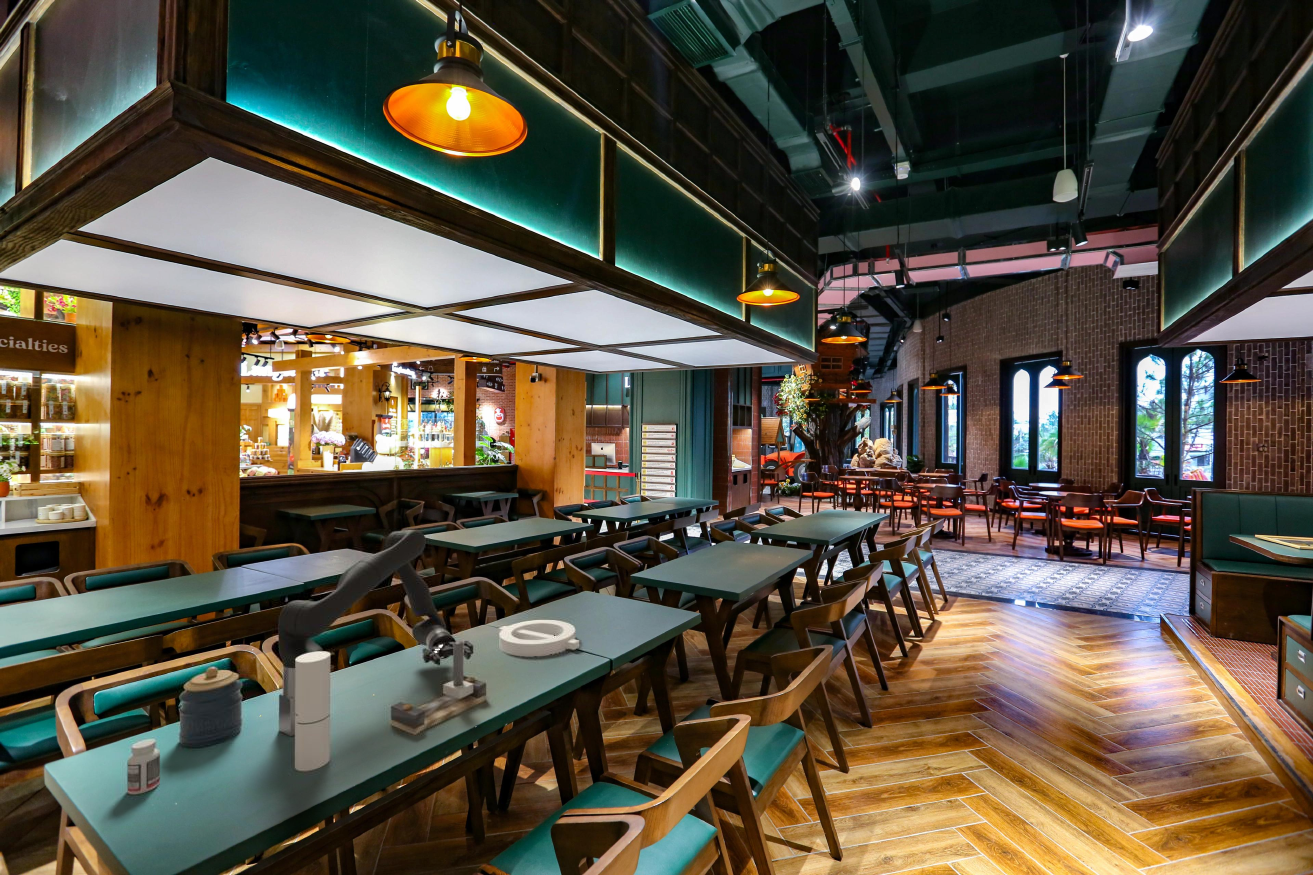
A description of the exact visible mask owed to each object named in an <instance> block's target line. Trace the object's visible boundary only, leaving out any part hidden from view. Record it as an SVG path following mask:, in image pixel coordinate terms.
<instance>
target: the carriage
mask: <svg viewBox="0 0 1313 875" xmlns="http://www.w3.org/2000/svg"><path fill="white" fill-rule="evenodd" d="M463 646H464V641H462V640H460V641H459V640H458V641H457V640H456V642H454V643H453V656H452V657H453V658H452V665H453V666H452V670H453V671H452V672H453V673H452V676H453V678H452V680H451V681H449V682H446V683H444V684H442V694H444V695H449V696H452V697H455V698H458V699H460V698H463V697H465V696H467V695H469V694H471V693H473V684H472V683H469V682H466V681H463V676H464V656H463V653H464V649H463Z"/></svg>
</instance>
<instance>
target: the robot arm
mask: <svg viewBox="0 0 1313 875" xmlns="http://www.w3.org/2000/svg"><path fill="white" fill-rule="evenodd" d="M426 542H427V539H426V536H425V534H424V533H423V532H421V531H420V530H417V529H406V530H397V531H392V532H391V533H389V534H388V536H387V537H386V539H385V550H382V551H379V552H376V553H374V554H371V555H369V556H366V557H364V558H363V559H360V560H358V562H355V563H354V564H353V565H351V566H350V567H349V568H347V569H346V570H345V571H344V572H343V573H342V574H341V576H340V577H339V581H338V583H337V586H336V588H335V590H333V591H332V592H331V593H330V594H328V595H327V596H325V597H324V598H322V599H320V600H317V601H313V600H304V599H303V600H302V599H301V600H299V599H297V600H291V601H290V602H288V603H287V604H285V606H283V607H282V609H281V610H280V614H279V615H278V616H279V617H278V620H277V621H278V623H277V633H278V634H277V635H278V651H279V655H280V658H281V659H282V692H281V693H280V694H279V695H278V731H280V732H281V733H283V734H286V735H287V736H288V737H292V736H295V659H296V658H297V657H299V656H301V655H303V654H306V653H311V652H318V651H324V650H323V648H322V647H321V646H320V645H319V644H318V643H316V642H315V641H314V640H313V639H312V638H315V637H316V638H317V637H318V636H320V635H322V634H324V632H325V631H327V630H328V629H329V628H330V627H331V626H332V625H334V623H335V622H336V621H337V620H338V619H339V618H340V617H341V616H342V615H343V614H344V613H345V612H346V611H347V610H349V609H350V608H351V607H352V606H354V605H355V604H356V603H358V601H359V600H361V599H362V598H363V597H364V596H366V595H368V594H369V593H370V592H371V591H373V590H374V589H375V588H376V587H378V586H379V585H380V584H381V583H382V582H383V581H385V580H386V579H387V578H388V577H390V576H391V575H393V573H395V572H396V573H397V575H398V577H399V580H400V581H401V583H402V585H403V588H404V590H405V593H406V595H407V599H408V602H409V606H410V609H411V612H412V615H413V616H414V617H416V618H422V617H428V616H429V618H427V619H424V620H421V621H419V622H417V623H416V624H414V626H412V632H411V633H412V638H413V639H414V640H415V641H416V643H418V645H419V644H420V645H422V646H426V647H427V648H425V647H424V648H422V659H423V662H424V663H426V664H427V663H428V664H429V663H430V662H431V663H433V664H434V665H437V666H441V660H445V659H448V658H450V657H453V643H454V642H457V640H456V638H454V637H453V635H451V633H450V632H449V631H448V630H447V625H446V622H445V621H444V619H443V618H442V616H441V614H439V612H438V610H437V608H436V606H435V604H434V601H433V598H432V595H431V590H430V589H429V586H428V584H427V583H426V582H425V581H424V579H423V578H422V577H421V576H420V574H418V573H417V571H416V570H415V569H414V567H413V566H412V563H411V561H412V560H414V559H416V558H417V557H418V556H420V555H421V554H422V553H423V551H424V549H425V547H426ZM463 642H464V646H463V658H465V659H466V660H470V658H472V655H473V654H474V644H472V643H471V642H470V641H469V640H464V641H463Z"/></svg>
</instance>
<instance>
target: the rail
mask: <svg viewBox="0 0 1313 875" xmlns="http://www.w3.org/2000/svg"><path fill="white" fill-rule="evenodd" d="M463 681H466V682H469V683H472V684H473V693H471V694H469V695H467V696H465V697H463V698H460V699H458V698H455V697H452V696H449V695H446V694H444V695H442V696H440V697H439V698H435V699H433V700H431V701H429V702H427V703H425V704H422V705H420V706H417V707H415V706H413V704H412V703H408V704H407V703H405V702H403V701H400V702H397V703H396V704H393V705H391V706H390V726H392V727H395V728H398V729H400V730H403V731H405V732H407V733H410V734H412V735H417V734H419V733H421V732H423V731H425V730H427V729H429V728H431V727H430V726H432V727H433V725H434V726H436V725H437V723H438V724H439V722H440V723H441V721H442V722H444V721H445V720H448V719H450V718H452V717H454V716H456V715H458V714H460V713H462V712H465V711H466V710H468V709H471V708H472V707H475V706H477V705H479V704H481V703H483V702H485V701H487V682H485V681H481V680H478V679H476V678H475V677H472V676H466V675H463ZM453 715H454V716H453ZM451 716H452V717H451ZM435 724H436V725H435ZM428 727H429V728H428ZM426 728H427V729H426ZM424 729H425V730H424ZM422 730H423V731H422ZM420 731H421V732H420Z"/></svg>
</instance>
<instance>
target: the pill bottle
mask: <svg viewBox="0 0 1313 875" xmlns="http://www.w3.org/2000/svg"><path fill="white" fill-rule="evenodd" d="M156 747H157V741H156V739H154V738H149V739H147V738H146V739H143V740H140V741H138V742H135V743H134V744H132V745H131V755H130V756H129V757H128V758H127V761H126V762H127V763H126V764H127V766H126V768H127V769H126V770H127V771H126V772H127V773H126V775H127V777H126V778H127V779H126V781H127V784H126V785H127V788H126V789H127V794H129V795H140V794H144V793H146V792H147V793H148V792H150V791H152V790H153V789H155V788H157V787H158V786H159V785H160V782H161V774H160V773H161V752H160V751H161V750H159V748H158V749H157V748H156Z"/></svg>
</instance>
